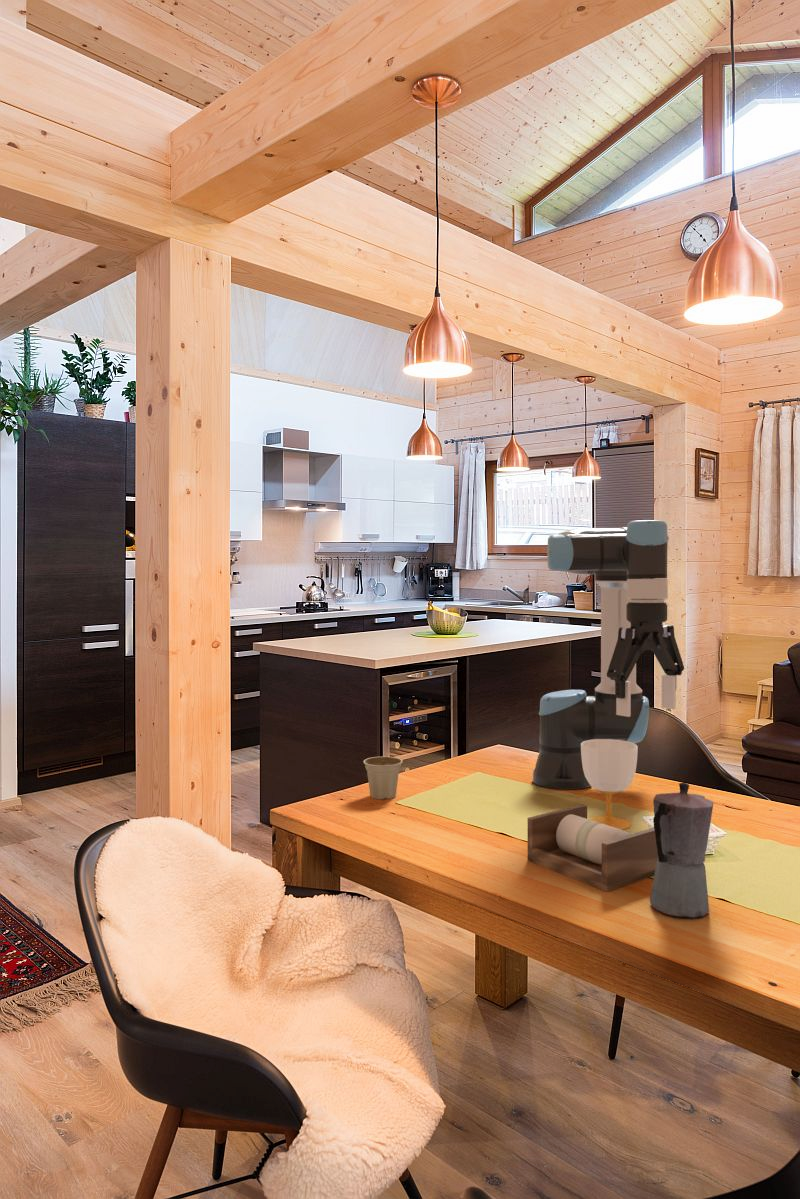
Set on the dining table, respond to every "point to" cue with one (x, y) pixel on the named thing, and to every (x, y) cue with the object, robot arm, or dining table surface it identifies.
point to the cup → (609, 771)
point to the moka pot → (681, 853)
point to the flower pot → (383, 776)
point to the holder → (619, 861)
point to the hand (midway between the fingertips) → (646, 712)
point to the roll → (585, 837)
